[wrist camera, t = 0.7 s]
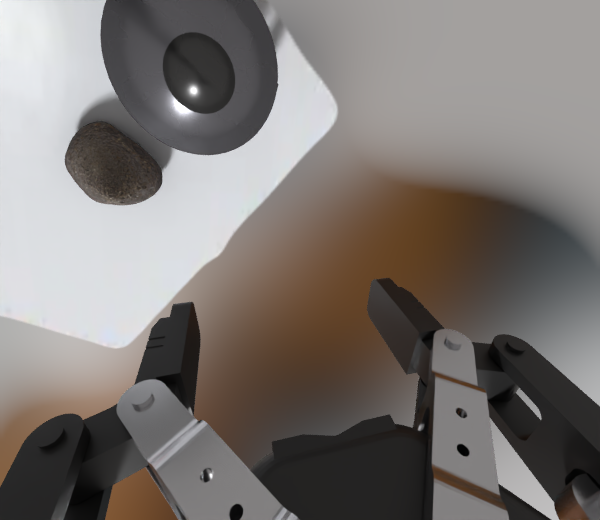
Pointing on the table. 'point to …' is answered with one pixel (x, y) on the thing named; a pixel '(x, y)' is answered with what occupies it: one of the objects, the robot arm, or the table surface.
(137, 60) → the plunger
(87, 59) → the table surface
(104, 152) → the stone
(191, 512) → the robot arm
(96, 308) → the table surface
